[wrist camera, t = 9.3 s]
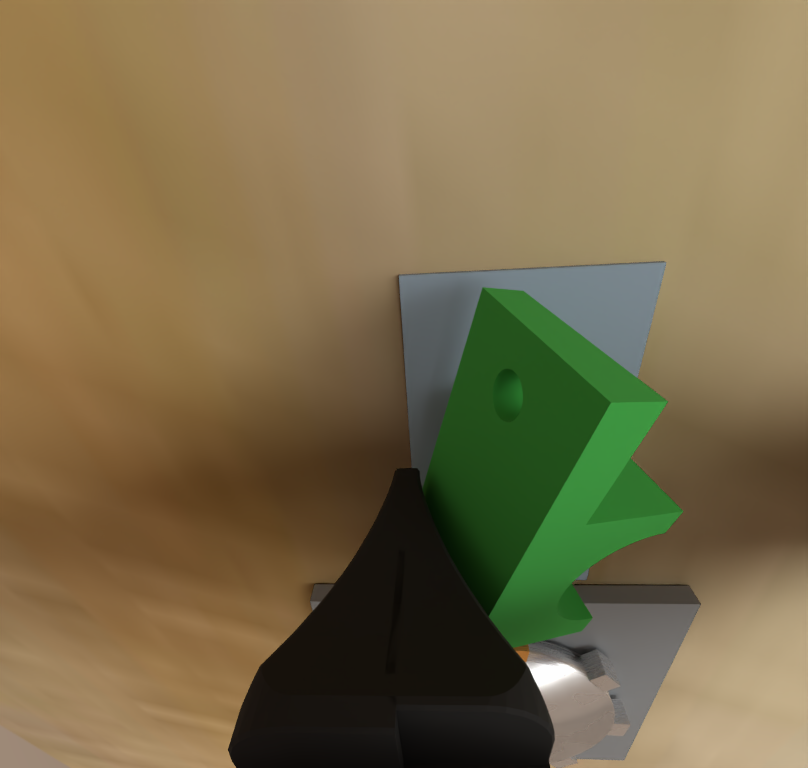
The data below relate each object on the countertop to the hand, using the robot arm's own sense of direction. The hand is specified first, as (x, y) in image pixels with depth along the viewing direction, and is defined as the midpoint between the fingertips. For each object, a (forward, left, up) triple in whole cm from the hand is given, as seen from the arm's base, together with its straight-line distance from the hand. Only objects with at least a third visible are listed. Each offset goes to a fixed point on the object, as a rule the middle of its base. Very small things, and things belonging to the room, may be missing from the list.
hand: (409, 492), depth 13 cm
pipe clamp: (-2, -1, -1) cm, 2 cm away
